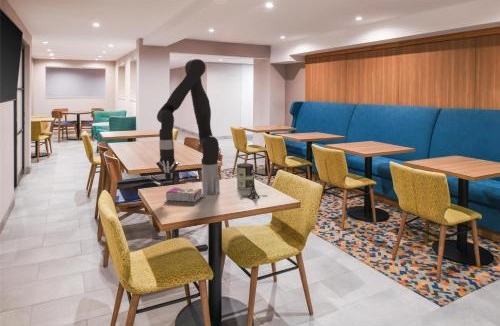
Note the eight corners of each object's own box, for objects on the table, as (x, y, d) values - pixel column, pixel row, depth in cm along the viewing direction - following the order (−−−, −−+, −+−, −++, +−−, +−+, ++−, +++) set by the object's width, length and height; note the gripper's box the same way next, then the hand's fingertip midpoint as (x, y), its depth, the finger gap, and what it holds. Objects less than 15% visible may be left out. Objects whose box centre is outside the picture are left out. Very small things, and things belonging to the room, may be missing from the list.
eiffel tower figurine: (267, 196, 210) (268, 173, 208) (267, 201, 201) (267, 177, 198) (241, 195, 212) (241, 172, 209) (239, 200, 202) (239, 176, 199)
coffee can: (253, 185, 234) (253, 163, 231) (253, 189, 224) (253, 166, 221) (237, 185, 234) (236, 163, 231) (236, 189, 224) (236, 166, 221)
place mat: (206, 197, 207) (206, 196, 207) (194, 205, 192) (194, 204, 192) (178, 195, 212) (178, 194, 212) (164, 203, 197) (164, 202, 197)
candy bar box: (173, 186, 209) (201, 188, 206) (174, 195, 210) (202, 197, 207) (165, 191, 198) (195, 193, 195) (166, 200, 199) (195, 202, 196)
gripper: (181, 147, 201) (182, 178, 204) (159, 146, 205) (160, 177, 208) (174, 149, 194) (176, 181, 197) (152, 148, 198) (153, 180, 201)
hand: (168, 179), depth 203 cm, fingers closed
